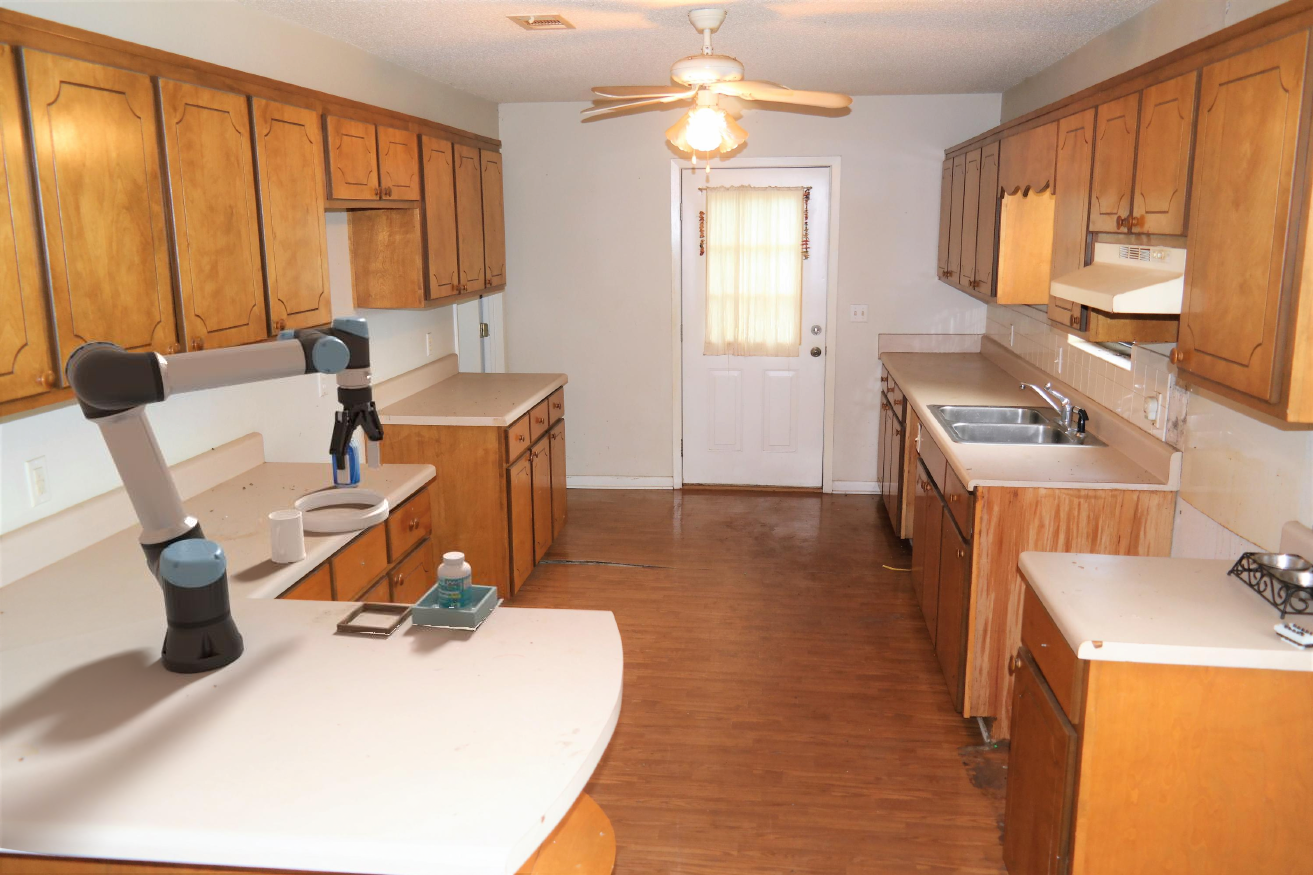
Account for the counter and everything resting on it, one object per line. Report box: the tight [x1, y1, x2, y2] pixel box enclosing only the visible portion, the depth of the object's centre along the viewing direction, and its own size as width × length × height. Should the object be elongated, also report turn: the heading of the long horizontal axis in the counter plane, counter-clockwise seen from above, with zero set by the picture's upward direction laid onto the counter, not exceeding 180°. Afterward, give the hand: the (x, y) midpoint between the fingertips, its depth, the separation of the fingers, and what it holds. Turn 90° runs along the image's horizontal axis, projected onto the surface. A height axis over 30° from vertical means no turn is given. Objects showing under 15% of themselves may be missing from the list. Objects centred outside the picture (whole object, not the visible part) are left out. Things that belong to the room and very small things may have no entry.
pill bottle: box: [436, 551, 472, 611], centre depth 209 cm, size 8×7×14 cm
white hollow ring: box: [292, 487, 390, 533], centre depth 275 cm, size 27×27×5 cm
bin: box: [411, 581, 498, 628], centre depth 210 cm, size 15×15×4 cm
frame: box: [336, 601, 413, 634], centre depth 206 cm, size 12×12×2 cm
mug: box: [268, 509, 307, 564], centre depth 240 cm, size 12×8×12 cm
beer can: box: [331, 436, 361, 489], centre depth 305 cm, size 8×8×16 cm
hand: (359, 475), depth 216 cm, fingers open, 13 cm apart
